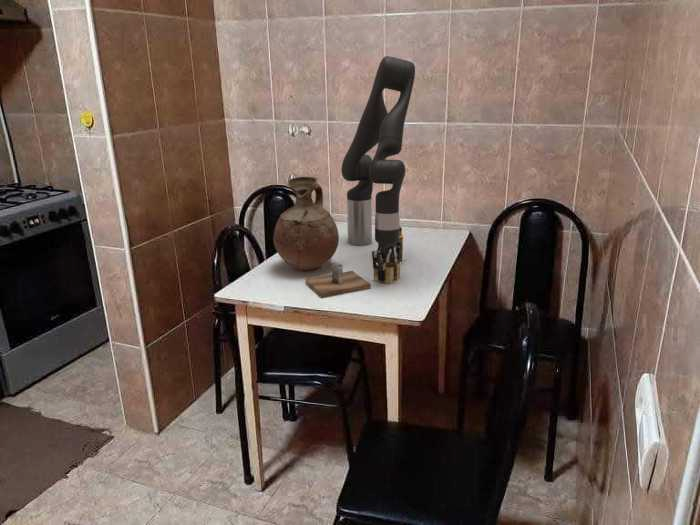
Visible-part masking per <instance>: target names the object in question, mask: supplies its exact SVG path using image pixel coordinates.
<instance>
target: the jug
mask: <svg viewBox="0 0 700 525" xmlns="http://www.w3.org/2000/svg"><path fill="white" fill-rule="evenodd" d="M287 182H288V187H289V188H290V189H291V191H292V192H294V194H295V203H294V205H293V206H291V207H289V208H288V209H287V210H285V211H284V212H282V213H281V214H280V215H279V218H278V220H277V222H276V225H275V227H274V230H273V239H272V241H273V245H274V249H275V250H276V252H277V253H278V256H279V257H280V258H281V259H282V260H283V261H284V262H285V263H286V264H288V265H289V266H291V267H293V268H294V269H296V270H297V271H300V272H307V273H308V272H310V273H311V272H315V271H318V270H320V269H321V268H322V267H323V265H325V264H326V263H328V262H329V261H331V259H332V257H333V256H334V255H335V254H336V252H337V250H338V246H339V242H340V237H339V236H340V234H339V229H338V225H337V224H336V222H335V219H334V218H333V217H332V215H331V213H330V212H329V211H328V210H327V209H326V208H324V205H323V204H324V194H323V192H324V191H323V187H322V186H321V184H319V182H318V179H317V177H314V176H305V175H304V176H295V177H292V178H289V179H288V181H287ZM313 192H314V193H315V199H314V200H315V201H313V197H312V194H313Z"/></svg>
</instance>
